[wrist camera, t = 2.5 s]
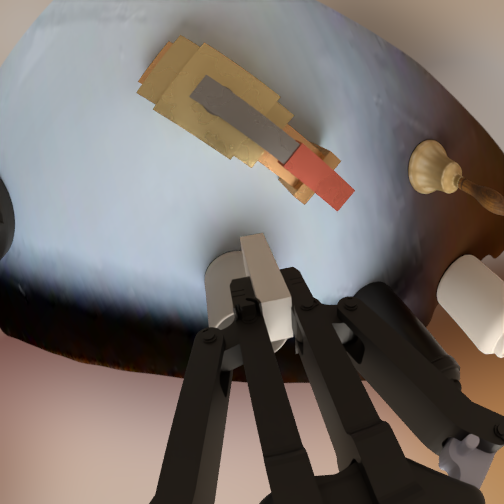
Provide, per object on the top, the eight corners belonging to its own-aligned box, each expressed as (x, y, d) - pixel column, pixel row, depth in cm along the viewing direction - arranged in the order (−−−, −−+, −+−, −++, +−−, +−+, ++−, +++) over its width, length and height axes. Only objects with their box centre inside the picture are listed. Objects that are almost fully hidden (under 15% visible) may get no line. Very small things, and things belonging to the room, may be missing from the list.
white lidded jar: (443, 259, 46) (513, 328, 29) (481, 247, 47) (544, 303, 30) (428, 310, 52) (482, 378, 35) (465, 294, 53) (517, 351, 36)
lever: (188, 98, 21) (187, 98, 18) (206, 76, 20) (208, 72, 17) (321, 197, 28) (337, 211, 24) (337, 178, 27) (354, 190, 24)
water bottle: (341, 331, 49) (399, 441, 29) (345, 285, 43) (424, 407, 24) (389, 315, 50) (454, 410, 30) (398, 271, 44) (483, 371, 25)
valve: (139, 93, 26) (124, 92, 20) (180, 40, 23) (175, 25, 17) (285, 191, 34) (305, 213, 28) (322, 146, 32) (350, 159, 26)
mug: (214, 243, 36) (222, 300, 27) (277, 257, 39) (303, 312, 29) (192, 315, 41) (195, 376, 32) (248, 323, 44) (262, 382, 34)
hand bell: (451, 148, 35) (532, 185, 21) (437, 197, 39) (511, 246, 25) (415, 132, 33) (507, 167, 19) (401, 187, 37) (482, 241, 23)
